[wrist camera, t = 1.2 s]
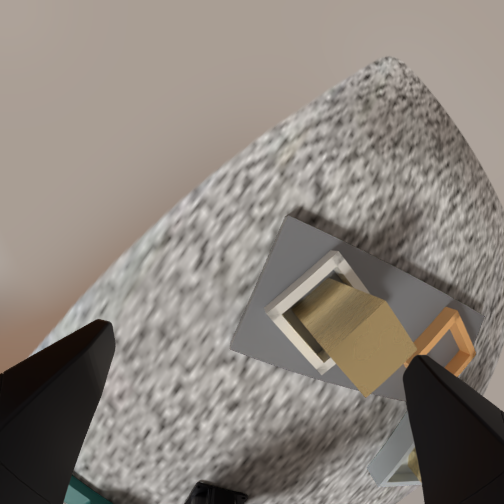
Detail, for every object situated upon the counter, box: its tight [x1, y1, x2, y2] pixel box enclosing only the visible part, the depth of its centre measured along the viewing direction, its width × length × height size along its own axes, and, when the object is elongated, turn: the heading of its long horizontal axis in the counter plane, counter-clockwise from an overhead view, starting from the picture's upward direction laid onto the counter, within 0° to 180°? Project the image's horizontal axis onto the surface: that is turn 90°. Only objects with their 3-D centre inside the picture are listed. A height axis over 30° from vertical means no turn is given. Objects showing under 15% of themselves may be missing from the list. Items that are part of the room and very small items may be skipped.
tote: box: [367, 411, 422, 487], centre depth 25 cm, size 10×10×4 cm
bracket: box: [64, 475, 113, 504], centre depth 21 cm, size 18×7×8 cm, turn 48°
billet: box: [291, 278, 417, 398], centre depth 19 cm, size 4×4×10 cm
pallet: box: [230, 215, 485, 401], centre depth 24 cm, size 12×26×4 cm, turn 67°
